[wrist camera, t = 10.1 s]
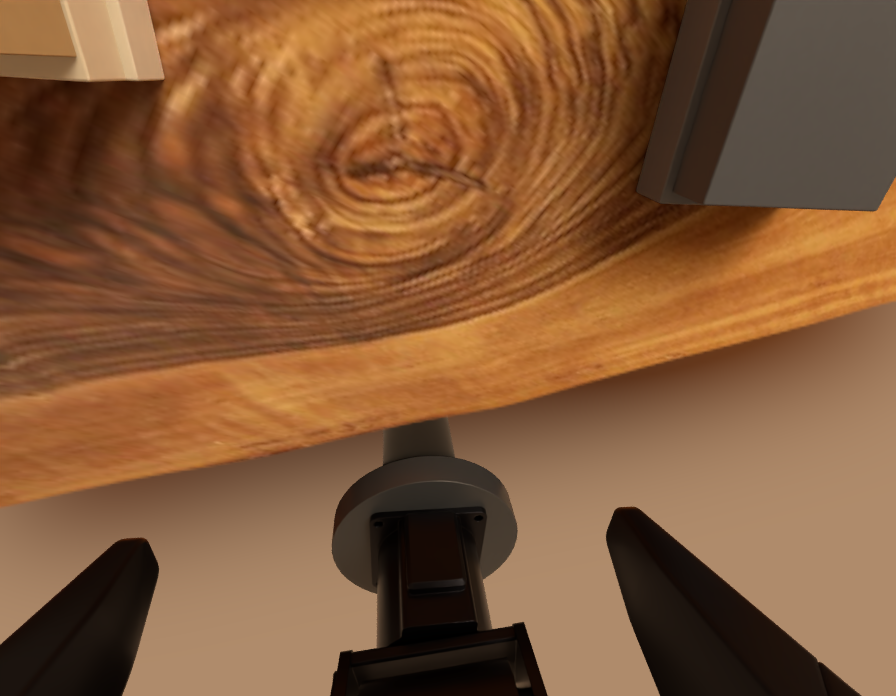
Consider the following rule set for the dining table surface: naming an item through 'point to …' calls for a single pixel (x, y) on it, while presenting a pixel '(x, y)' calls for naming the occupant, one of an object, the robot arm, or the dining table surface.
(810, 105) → the grey book stack
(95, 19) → the cream book stack
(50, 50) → the beige rectangular block
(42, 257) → the dining table surface
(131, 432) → the dining table surface
